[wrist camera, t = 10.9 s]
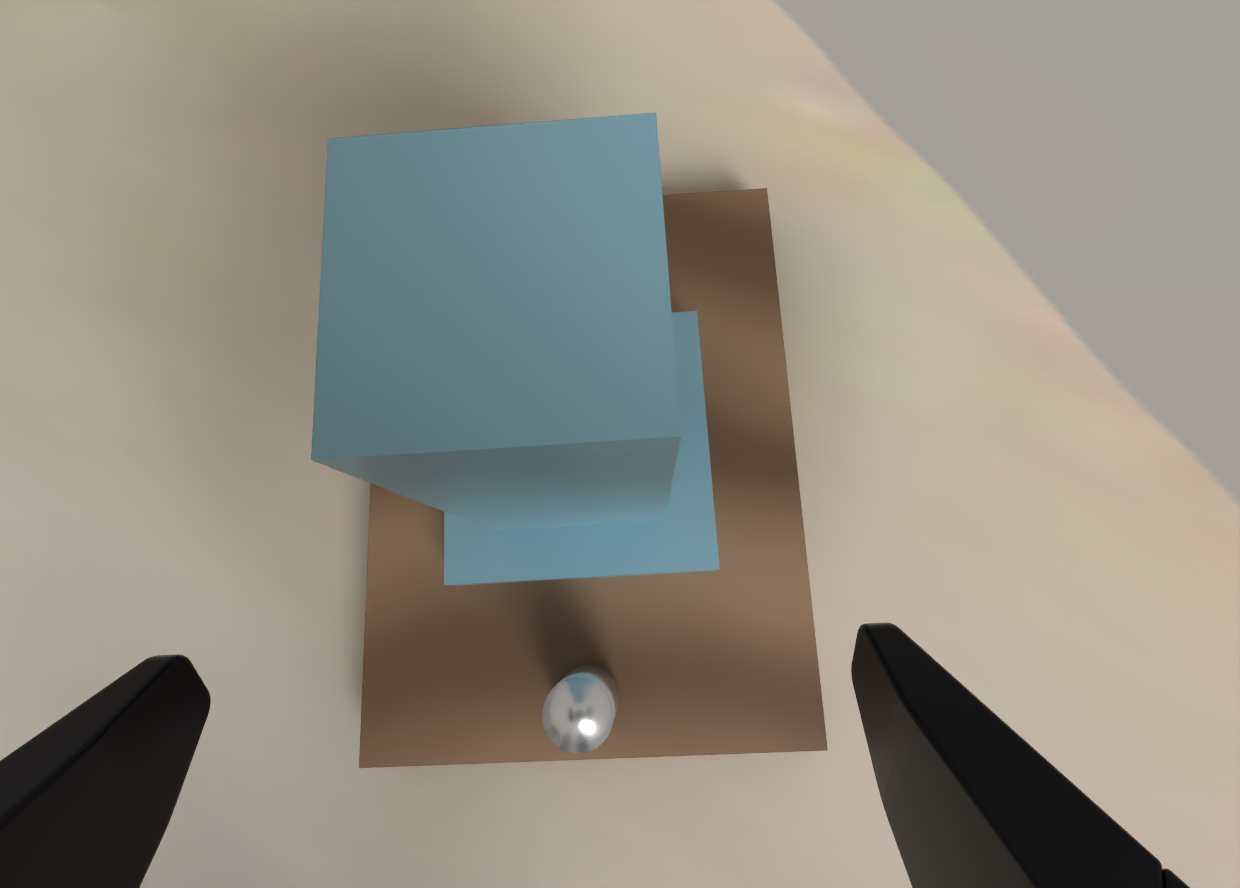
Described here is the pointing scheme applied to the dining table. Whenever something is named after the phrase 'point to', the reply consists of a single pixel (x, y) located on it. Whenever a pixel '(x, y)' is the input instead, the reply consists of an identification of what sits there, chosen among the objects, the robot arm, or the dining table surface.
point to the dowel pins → (581, 709)
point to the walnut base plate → (624, 605)
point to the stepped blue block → (516, 348)
